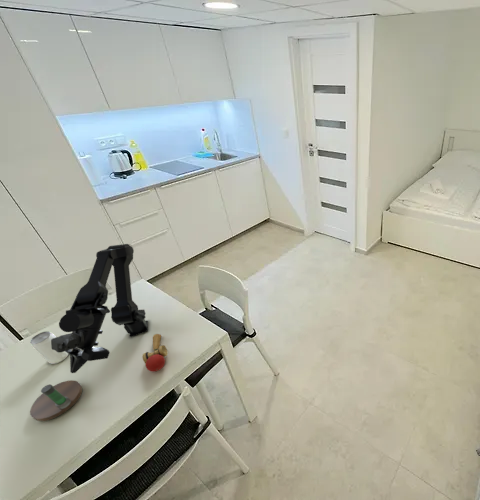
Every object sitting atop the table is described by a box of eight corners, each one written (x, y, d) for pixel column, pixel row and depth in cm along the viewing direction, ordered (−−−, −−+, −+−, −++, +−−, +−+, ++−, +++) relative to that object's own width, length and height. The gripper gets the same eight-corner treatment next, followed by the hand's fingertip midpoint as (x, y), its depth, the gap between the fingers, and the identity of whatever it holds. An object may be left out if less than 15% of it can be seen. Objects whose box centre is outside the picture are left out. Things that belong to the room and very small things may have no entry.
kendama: (146, 346, 117) (143, 378, 103) (143, 334, 115) (139, 365, 100) (168, 341, 121) (168, 371, 107) (166, 329, 118) (165, 358, 104)
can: (57, 365, 109) (37, 346, 102) (44, 362, 110) (23, 343, 103) (74, 351, 114) (56, 331, 107) (61, 348, 115) (42, 329, 108)
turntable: (24, 411, 94) (-1, 393, 88) (68, 377, 104) (49, 359, 97) (47, 427, 90) (23, 410, 83) (91, 390, 100) (72, 372, 93)
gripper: (44, 319, 93) (24, 367, 91) (79, 336, 87) (60, 388, 85) (83, 318, 103) (67, 362, 101) (117, 333, 97) (101, 380, 95)
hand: (73, 372), depth 95 cm, fingers closed
